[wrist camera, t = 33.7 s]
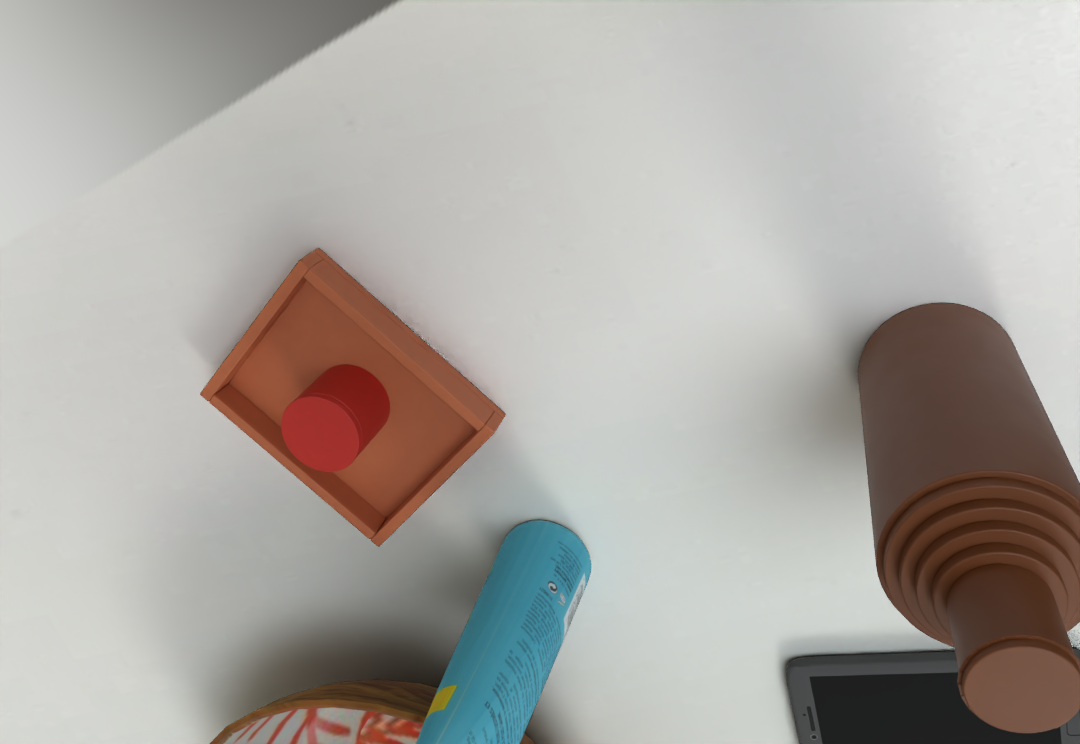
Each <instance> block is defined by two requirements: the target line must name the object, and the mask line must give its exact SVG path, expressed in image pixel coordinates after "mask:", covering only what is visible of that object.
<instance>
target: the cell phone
mask: <svg viewBox="0 0 1080 744" xmlns="http://www.w3.org/2000/svg"><path fill="white" fill-rule="evenodd" d="M1073 651H1074V653H1075V654H1076V655H1077V657H1078V658H1079V660H1080V650H1078V649H1073ZM958 672H959V669H958V664H957V658H956V653H955V652H926V653H898V654H869V655H841V656H814V657H802V658H797V659H795V660H792V661H790V662H789V664H788V666H787V668H786V677H787V685H788V690H789V694H790V699H791V704H792V709H793V714H794V718H795V723H796V728H797V733H798V738H799V742H800V744H1080V710H1079V711H1078V712H1077V714H1076V715H1075V716H1074V717H1073V718H1071V719H1070V720H1069V722H1067V723H1066V724H1064V725H1062V726H1060V727H1058V728H1054V729H1051V730H1048V731H1043V732H1037V733H1016V732H1010V731H1006V730H1002V729H999V728H996V727H994V726H992V725H990V724H988V723H986V722H985V721H983V720H982V719H980V718H978V716H977V715H975V714H974V713H973V712H972V711H971V710H970V709H969V708H968V707H967V705H966V704H965V702H964V701H963V699H962V697H961V695H960V691H959V687H958V682H957V680H958Z"/></svg>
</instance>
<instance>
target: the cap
mask: <svg viewBox="0 0 1080 744" xmlns="http://www.w3.org/2000/svg"><path fill="white" fill-rule="evenodd" d="M389 413H390V402H389V398H388V395H387V392H386V390H385V388H384V387H383V385H382V384H381V382H380V381H379V380H378V379H377V378H376V377H375V376H374V375H373V374H371V373H370V372H369V371H367V370H365V369H363V368H361V367H358V366H354V365H348V364H343V365H337V366H334V367H331V368H329V369H328V370H326V371H325V372H324V373H323V374H322V375H321V376H320V377H319V378H318V379H316V380H315V381H314V382H313V383H312V384H311V385H310V386H309V387H308V388H307V389H306V390H304V391H303V392H302V393H301V394H300V395H299V396H298V397H297V398H296V399H295V400H294V401H292V402H291V403H290V404H289V405H288V406H287V408H286V409H285V411H284V413H283V416H282V420H281V430H282V435H283V438H284V441H285V443H286V445H287V447H288V448H289V450H290V451H291V452H292V454H293V455H294V456H295V457H296V458H297V459H298V460H300V461H301V462H302V463H304V464H305V465H307V466H309V467H311V468H313V469H316V470H319V471H325V472H334V471H339V470H342V469H344V468H346V467H348V466H349V465H350V464H351V463H352V462H353V461H354V460H355V459H356V458H357V457H358V455H359V454H360V453H361V452H362V451H363V450H364V448H365V447H366V446H367V445H368V444H369V443H370V441H371V440H372V439H373V438H374V437H375V436H376V434H377V433H378V432H379V431H380V430H381V429H382V427H383V426H384V425H385V424H386V422H387V420H388V417H389Z"/></svg>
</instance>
